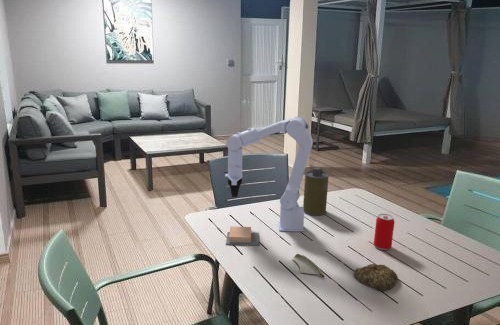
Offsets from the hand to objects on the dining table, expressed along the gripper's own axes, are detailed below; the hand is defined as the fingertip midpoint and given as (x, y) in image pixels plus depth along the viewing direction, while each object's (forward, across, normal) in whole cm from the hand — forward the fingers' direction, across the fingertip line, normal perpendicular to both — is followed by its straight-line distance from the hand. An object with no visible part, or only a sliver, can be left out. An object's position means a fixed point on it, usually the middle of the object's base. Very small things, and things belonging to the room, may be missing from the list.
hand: (234, 196), depth 164 cm
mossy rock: (+11, +42, +47) cm, 64 cm away
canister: (+11, -12, +35) cm, 38 cm away
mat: (+10, +17, +4) cm, 21 cm away
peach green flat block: (+9, +12, +3) cm, 15 cm away
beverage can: (+11, +21, +55) cm, 60 cm away
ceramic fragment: (+11, +37, +26) cm, 46 cm away
